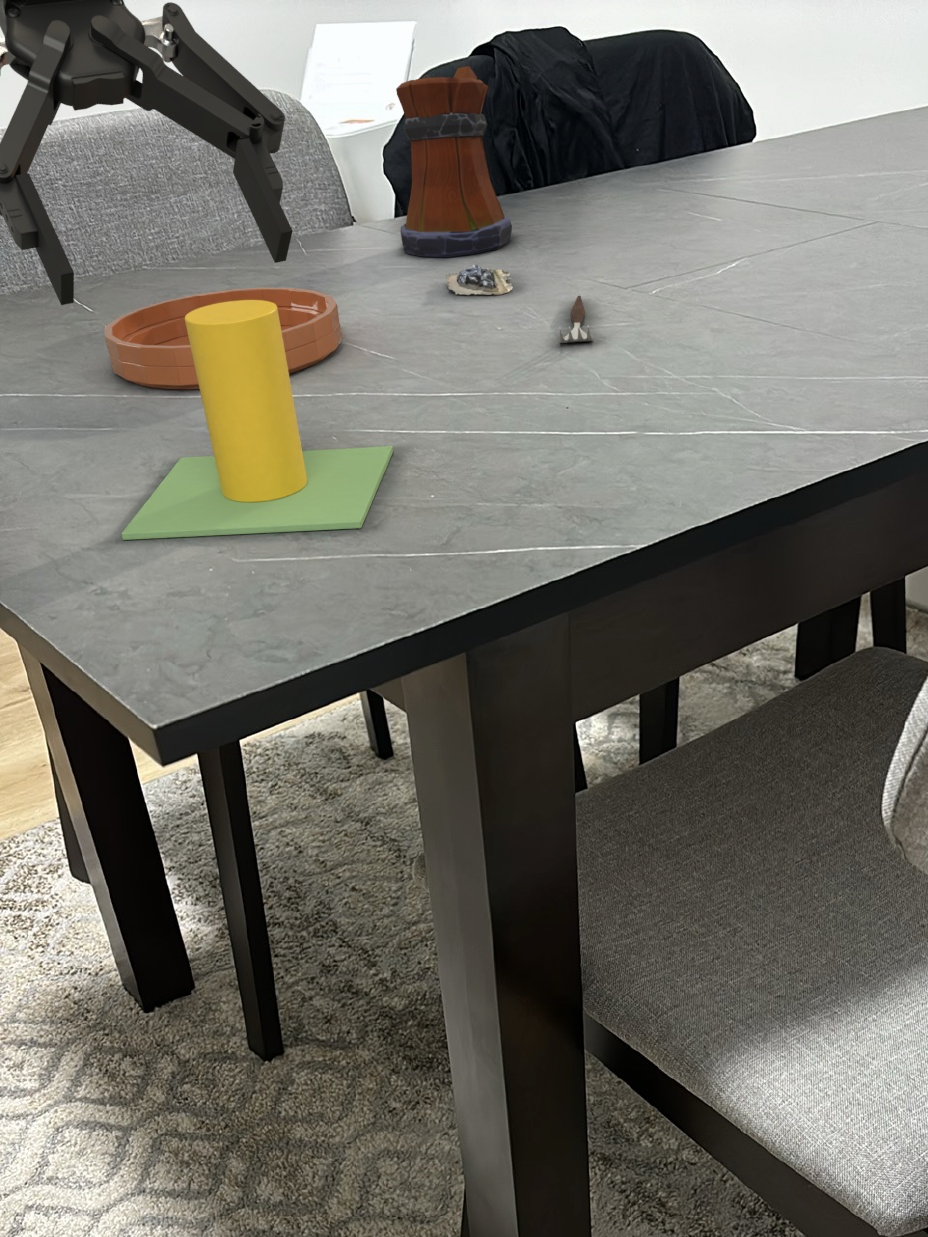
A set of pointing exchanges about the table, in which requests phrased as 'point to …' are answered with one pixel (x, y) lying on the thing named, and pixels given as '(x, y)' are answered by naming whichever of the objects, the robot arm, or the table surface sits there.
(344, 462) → the green board
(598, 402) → the table surface
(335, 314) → the pan
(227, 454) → the yellow cylinder
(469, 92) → the brown rook tower
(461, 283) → the dark rock pile
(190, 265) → the table surface
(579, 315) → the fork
